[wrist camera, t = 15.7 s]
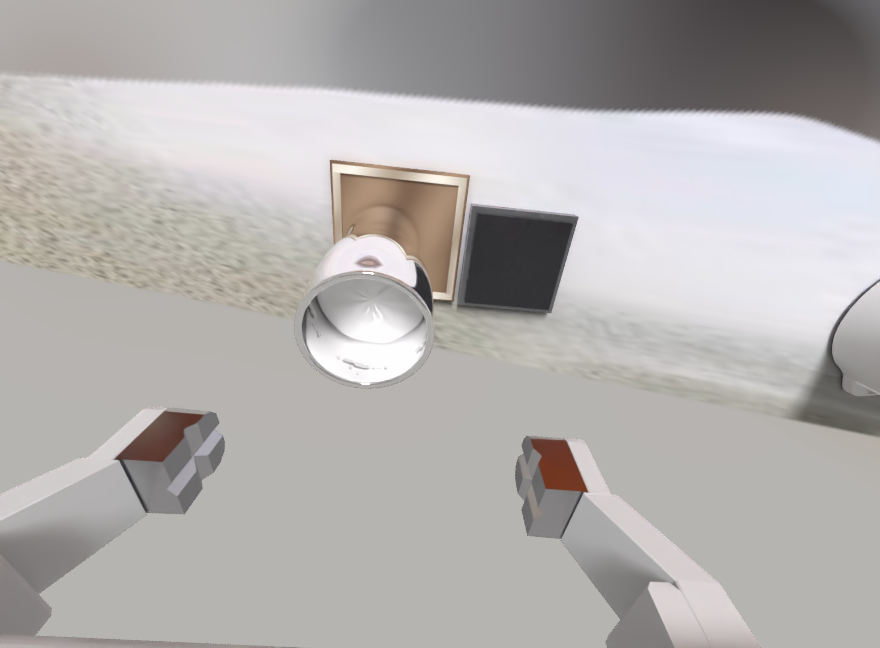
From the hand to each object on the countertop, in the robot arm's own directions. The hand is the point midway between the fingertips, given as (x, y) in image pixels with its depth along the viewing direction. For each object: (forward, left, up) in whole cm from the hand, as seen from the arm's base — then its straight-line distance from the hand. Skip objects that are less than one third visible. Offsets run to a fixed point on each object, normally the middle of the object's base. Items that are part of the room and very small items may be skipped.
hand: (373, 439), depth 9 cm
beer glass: (+3, +1, -22) cm, 23 cm away
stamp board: (+2, 0, -23) cm, 23 cm away
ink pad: (-9, +1, -23) cm, 25 cm away
